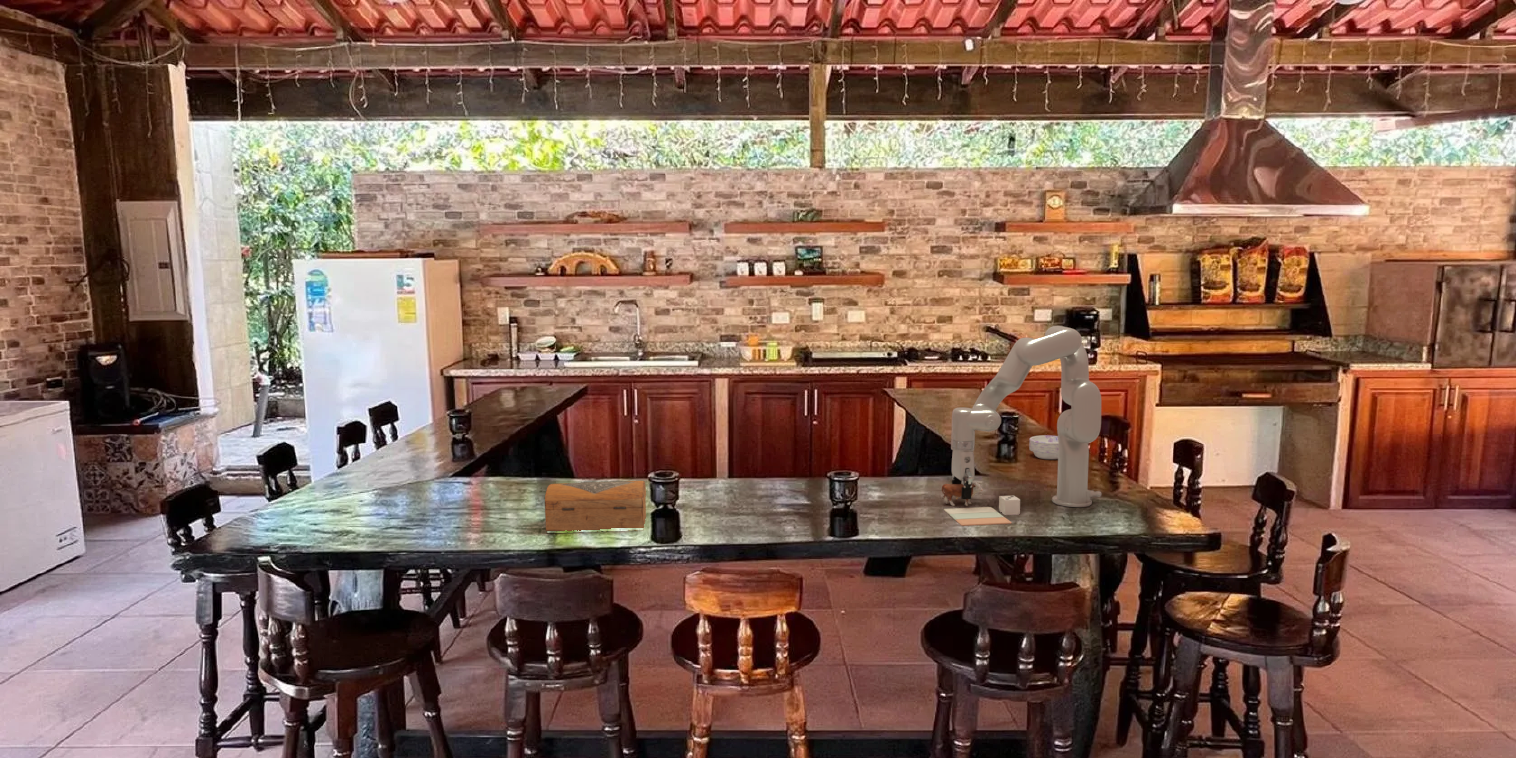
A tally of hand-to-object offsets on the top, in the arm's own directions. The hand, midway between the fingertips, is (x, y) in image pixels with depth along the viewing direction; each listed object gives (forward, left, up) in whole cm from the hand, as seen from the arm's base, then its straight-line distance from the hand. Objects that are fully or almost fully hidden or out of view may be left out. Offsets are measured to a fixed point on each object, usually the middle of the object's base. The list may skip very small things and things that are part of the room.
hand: (961, 495), depth 293 cm
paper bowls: (-59, -64, -4) cm, 87 cm away
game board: (0, +14, -3) cm, 14 cm away
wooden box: (+120, +5, -4) cm, 120 cm away
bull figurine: (0, 0, -4) cm, 4 cm away
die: (-12, +11, -4) cm, 17 cm away
